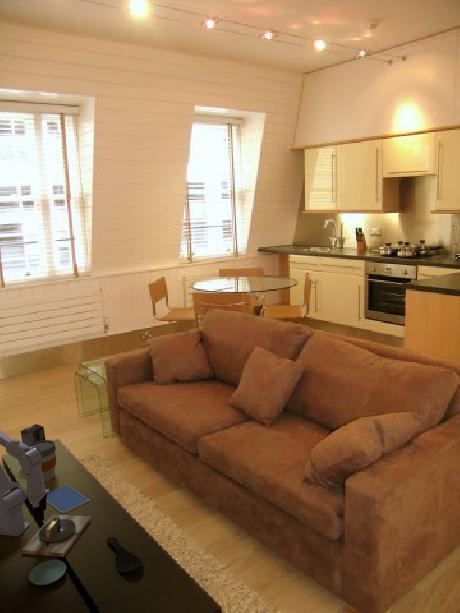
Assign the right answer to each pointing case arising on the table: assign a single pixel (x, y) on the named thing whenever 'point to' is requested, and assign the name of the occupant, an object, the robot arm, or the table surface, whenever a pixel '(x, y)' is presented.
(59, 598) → the table surface
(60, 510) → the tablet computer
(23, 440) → the coffee box
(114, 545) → the hairbrush
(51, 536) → the dial
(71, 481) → the table surface
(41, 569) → the saucer
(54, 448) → the reusable coffee cup
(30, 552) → the dial board
